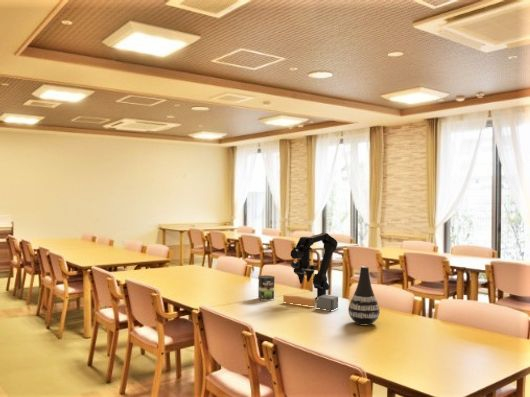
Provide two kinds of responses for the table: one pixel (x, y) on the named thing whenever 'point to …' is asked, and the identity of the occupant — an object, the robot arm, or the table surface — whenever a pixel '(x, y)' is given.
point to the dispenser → (327, 302)
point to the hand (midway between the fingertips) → (304, 282)
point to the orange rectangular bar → (299, 300)
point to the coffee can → (266, 287)
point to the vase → (364, 301)
